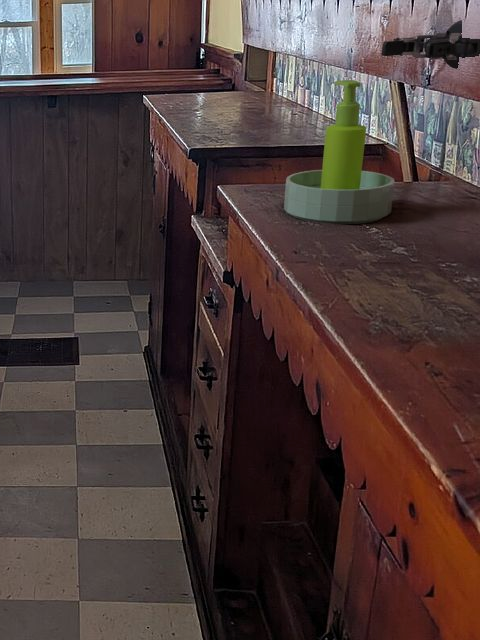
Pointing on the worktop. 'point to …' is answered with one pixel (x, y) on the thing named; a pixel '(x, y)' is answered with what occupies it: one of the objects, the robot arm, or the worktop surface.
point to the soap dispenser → (344, 143)
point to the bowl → (338, 199)
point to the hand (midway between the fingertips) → (405, 49)
